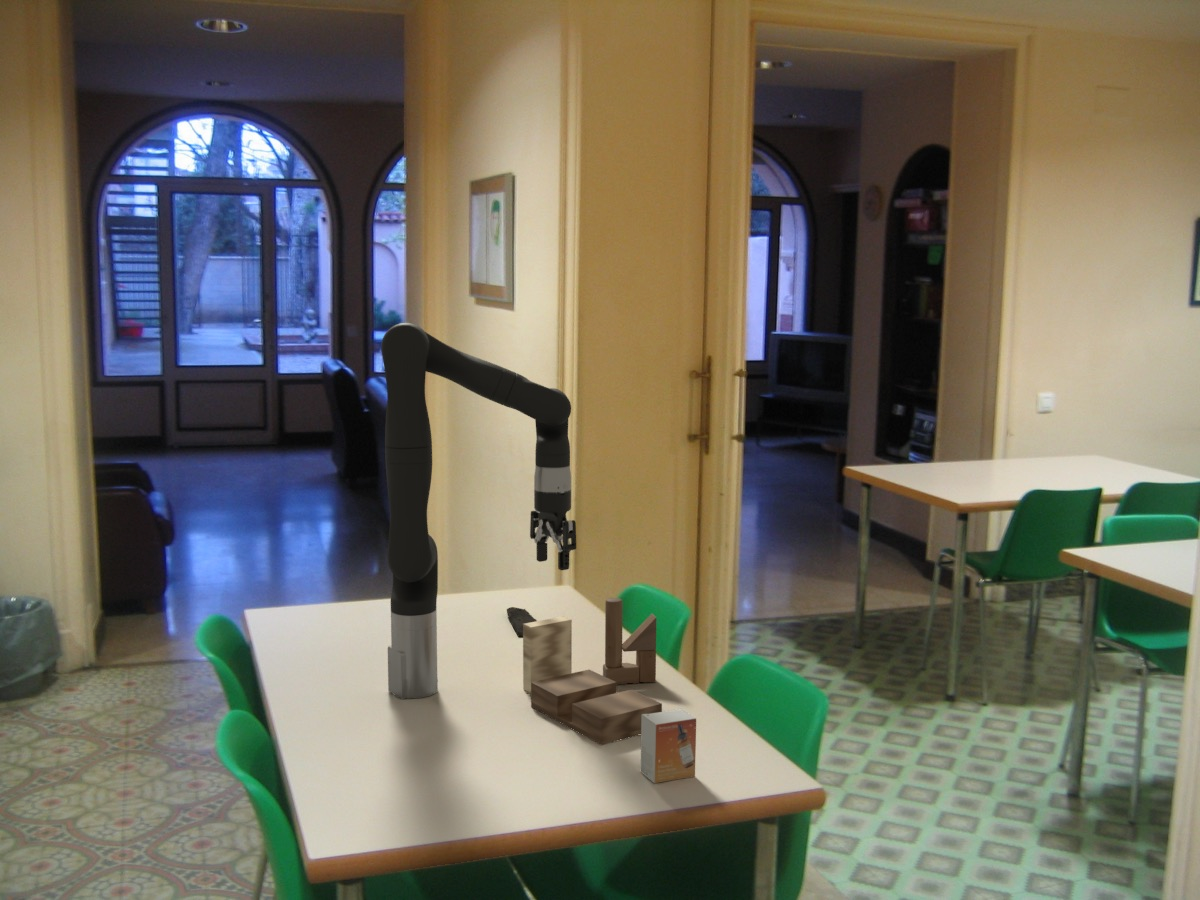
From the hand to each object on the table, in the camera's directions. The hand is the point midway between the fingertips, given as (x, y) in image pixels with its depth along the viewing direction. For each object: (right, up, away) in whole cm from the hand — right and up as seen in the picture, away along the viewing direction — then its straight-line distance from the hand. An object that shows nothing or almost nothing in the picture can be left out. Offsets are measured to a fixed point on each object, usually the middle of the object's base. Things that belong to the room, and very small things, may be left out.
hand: (552, 565), depth 243 cm
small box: (+21, -32, -40) cm, 55 cm away
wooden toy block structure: (+16, -26, +7) cm, 31 cm away
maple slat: (-1, -26, +4) cm, 26 cm away
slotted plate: (+9, -28, -13) cm, 32 cm away
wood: (-9, -20, +49) cm, 53 cm away
